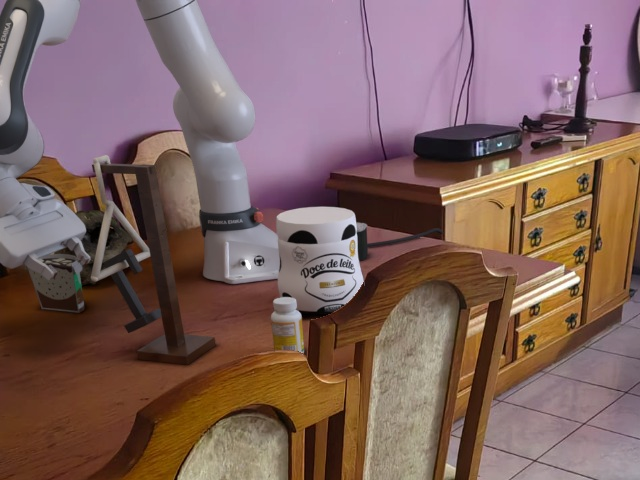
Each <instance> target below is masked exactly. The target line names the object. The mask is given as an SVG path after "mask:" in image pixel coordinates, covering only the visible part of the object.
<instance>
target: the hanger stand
mask: <svg viewBox="0 0 640 480" xmlns="http://www.w3.org/2000/svg"><path fill="white" fill-rule="evenodd" d="M92 162H93V164H91V168H92V172H93V173H95V177H96V181H97V186H98V191H99V196H100V200H101V201H100V202H101V203H102V204H103V205H105V210H104V212H105V213H104V218H103V223H102V227H101V232H100V237H99V241H98V246H97V251H96V255H95V260H94V265H93V269H92V274H91V280H92V281H94V282H96V281H97V282H98V281H101V280H103V279H106V278H107V277H109V276H111V275H112V274H114V273H116V272H118V271H120V270H122V271H123V270H124V269H127V268H128V267H129V265H128V263H127V261H126V260H124V261H122V262H119V263H117V264H115V265H113V266H111V267H108V268H106V269H104V270H102V271H100V270H101V265H102V260H103V255H104V251H105V246H106V241H107V237H108V232H109V227H110V223H111V218H112V217H113V215H114V218H115V219H116V220H117V221H118V222H119V223H120V225H121V226H122V228H124V230H125V231H127V232H128V233H129V234H130V236H131V237H132V238H133V241H134V242H135V243H136V245H137V246H138V247H139V249H140V250H141V251H142V252H140V253H137V254H134V255H135V257H136V259H137V260H138V262H139V263H140V262H141V261H144V260H146V259H148V258H150V261H151V266H152V272H153V277H154V282H155V288H156V293H157V299H158V305H159V309H160V310H161V316H162V317H161V321H162V326H163V332H164V334H162V335H160V336H159V337H157V338H155V339H154V340H152V341H150V342H149V343H147V344H146V345H144V346H142V347H141V348H139V349H137V350H136V355H137V359H138V360H141V361H148V362H149V361H150V362H158V363H168V364H175V365H183V366H185V365H186V366H188V365H189V364H192V363H193V362H194V361H196V360H197V359H198V358H200V357H201V356H203V355H204V354H206V353H207V352H208V351H210V350H212V349H213V348H214V347H216V346H217V345H216V338H215V336H207V335H197V334H188V333H184V332H185V331H184V326H183V320H182V314H181V308H180V303H179V297H178V292H177V291H178V290H177V285H176V279H175V273H174V268H173V263H172V256H171V251H170V245H169V238H168V233H167V227H166V221H165V215H164V209H163V203H162V196H161V192H160V186H159V180H158V173H157V167H156V164H143V163H142V164H135V163H134V164H133V163H132V164H131V163H111V158H110V156H109V155H108V154H104V155H100V156H97V157H94V158H93V159H92ZM103 174H115V175H116V174H117V175H118V174H119V175H134V176H135V180H136V185H137V191H138V196H139V201H140V206H141V213H142V217H143V223H144V228H145V229H144V230H145V234H146V239H147V244H146V243H145V241H144V240H143V239H142V237H141V236H140V234H139V233H138V232H137V231H136V229H135V228H134V227H133V226H132V224H131V223H130V222H129V220H128V219H127V217H126V216H125V215H124V214H123V213H122V212H121V210H120V209H119V207H118V205H116V204H115V202H114V201H113V200H109V199H107V194H106V188H105V183H104V178H103ZM110 228H111V227H110ZM129 268H130V267H129ZM97 282H96V283H97Z"/></svg>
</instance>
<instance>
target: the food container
mask: <svg viewBox="0 0 640 480" xmlns="http://www.w3.org/2000/svg"><path fill="white" fill-rule="evenodd" d="M75 259H76V257H75V256H73V255H67V254H54V253H51V254H49V255H46V256H44V257H41V258H39V259H38V260H39V261H41V262H42V263H44V264H46V265H47V266H48V265H52V266H53V267H54V269H56V270H57V272H58V273H57V275H56V277H55V278H53V279H51V280H47V279H46V278H45V277H44V276H43V275H42V274H40V273H38V272H36V271H34V270H31V269H29V268H28V267H27V266H26V265H25V264H24V267H25V271H28V273H29V276H30V278H31V281H32V284H33V287H34V290H35V294H36V297H37V299H38V303H39V304H40V307H41V308H40V309H41V310H48V311H58V312H66V313H67V312H68V313H76V314H77V313H78V314H79V313H82V312H83V311H84V310H85V301H84V295H83V294H84V293H83V287H82V286H83V285H82V286H81V279H80V272H81V271H82V266H81V265H80V263H79V262H77V261H76V260H75Z"/></svg>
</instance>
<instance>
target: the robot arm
mask: <svg viewBox="0 0 640 480" xmlns="http://www.w3.org/2000/svg"><path fill="white" fill-rule="evenodd" d="M135 2H136V5H137V8H138V11H139V12H140V15H141V17H142V20H143V22H144V24H145V27H146V29H147V31H148V33H149V35H150V37H151V40H152V42H153V44H154V47H155V49H156V51H157V53H158V55H159V58H160V60H161V62H162V63H163V65H164V67H166V69H167V70H168V71H169V72H170V74H171V75H172V77H173V78H174V80H175V81H176V83H177V84H178V86H179V88H178V89H177V90H176V92H175V94H174V96H173V99H172V100H173V101H172V109H173V113H174V117H175V119H176V120H177V122H178V124H179V126H180V128H181V131H182V134H183V138H184V142H185V146H186V148H187V151H188V155H189V157H190V160H191V164H192V166H193V171H194V172H193V173H194V175H195V181H196V187H197V188H196V189H197V194H198V202H199V211H198V214H199V215H198V218H199V226H200V233H201V235H202V237H203V245H204V247H203V249H204V254H203V255H204V258H203V259H204V261H203V271H202V276H203V278H206V279H208V280H211V281H217V282H218V281H219V282H224V283H225V284H230V285H237V284H245V283H253V282H254V283H255V282H261V281H269V280H270V281H271V280H278V274H279V268H280V256H279V249H278V241H277V240H278V236H277V232H275V231H273V230H272V229H270V228H269V227H267V226H266V225H264V224H262V223H263V221H264V215H263V213H262V211H261V210H260V209H259V207H254V206H253V205H251V195H250V187H249V178H248V171H247V168H246V165H245V163H244V162H243V160H242V157H241V155H240V152H239V150H238V147H237V143H236V142H240V141H243V140H245V139H246V138H248V136H250V134H251V133H252V132H253V130H254V127H255V124H256V109H255V105H254V103H253V101H252V100H251V99H250V97H249V96H248V95H247V93H245V92H244V90H243V89H242V88H241V86H240V84H239V83H238V81H237V79H236V77H235V75H234V74H233V72H232V70H231V68H230V67H229V66H228V64H227V62H226V60H225V59H224V57H223V55H222V54H221V52H220V50H219V49H218V46H217V45H216V43H215V40H214V39H213V36H212V34H211V32H210V28H209V26H208V24H207V22H206V19H205V17H204V15H203V12H202V9H201V7H200V5H199V2H198V0H135ZM81 5H82V0H5V2H4V5H3V7H2V10H1V11H0V264H1V265H2V266H3V267H6V268H8V269H11V270H13V269H16V268H19V267H21V266H23V265H24V266H25V265H26V266H27V267H28V268H29V269H31V270H34V271H36V272H38V273H40V274H42V275H43V276H44V277H45V278H46V279H47V280H51V279H53V278H55V277H56V275H57V273H58V272H57V270H56V269H54V267H53V266H52V265H48V266H47V265H46V264H44V263H42V262H41V261H39V260H38V259H39V258H41V257H44V256H46V255H52V254H54V252H56V251H59V250H61V249H64V248H66V247H68V248H69V249H70V250H71V251H73V250H74V252H75V254H76V256H77V257H76V259H75V260H76V261H77V262H79V263H80V265H82V266H83V265H85V264H88V263H89V261H90V260H91V258H90V256H89V255H88V254H87V253H86V252H85V250H84V248H83V245H82V242H81V240H82V238H83V236H84V235H85V233H86V228H85V225H84V223H83V222H82V221H81V220H80V219H79V218H78V217H77V216H76V214H75V213H76V212H74V211H73V210H72V209H71V208H69V206H68V205H67V204H65V203H64V202H63V201H61V200H60V199H58V198H55V196H56V194H55V192H54V191H53V190H52V188H50V187H49V186H46V185H37V184H36V185H34V184H29V183H24V182H20V181H19V180H18V178H20V177H21V176H24V175H25V174H26V173H28V172H29V171H31V170H32V169H34V168H35V167H37V165H38V164H39V163H40V162H41V160H42V158H43V156H44V154H45V153H44V152H45V141H44V138H43V135H42V133H41V131H40V130H39V128H38V126H37V125H36V123H35V122H34V120H33V119H32V118H31V117H30V115H29V113H28V111H27V108H26V104H25V97H24V96H25V95H24V93H25V88H26V85H27V83H28V78H29V76H30V75H29V74H30V73H31V69H32V65H33V62H34V59H35V55H36V53H37V51H38V49H39V47H40V46H48V47H52V46H53V47H54V46H57V45H61V44H63V43H65V42H66V41H68V40H69V38H70V35H71V34H72V32H73V30H74V29H75V28H74V27H75V26H76V24H77V19H78V18H79V17H78V16H79V12H80V8H81ZM433 233H439V234H440V235H443V234H445V233H444V231H443V230H442V229H441V228H439V227H436V228H435V227H434V228H431V229H429V230H427V231H425V232H420V233H416V234H413V235H409V236H405V237H400V238H395V239H388V240H384V241H377V242H376V241H375V242H370V243H367V246H368V248H373V247H378V246H385V245H392V244H398V243H402V242H406V241H411V240H414V239H415V240H416V239H418V238H423V237H426V236H429V235H431V234H433Z"/></svg>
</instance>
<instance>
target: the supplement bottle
mask: <svg viewBox="0 0 640 480" xmlns="http://www.w3.org/2000/svg"><path fill="white" fill-rule="evenodd" d="M272 307H273V310H274V311H273V312H272V313H271V314H270V325H271V333H272V341H273V342H272V344H273V351H274V350H294V351H299V352H301V353H303V354H304V353H305V341H304V330H303V329H304V328H303V317H302V313H300V312H299V311H297V310H295V309H296V308H297V303H296V299H294V298H291V297H281V298H280V297H277V298H274V299H273V301H272Z"/></svg>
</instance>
